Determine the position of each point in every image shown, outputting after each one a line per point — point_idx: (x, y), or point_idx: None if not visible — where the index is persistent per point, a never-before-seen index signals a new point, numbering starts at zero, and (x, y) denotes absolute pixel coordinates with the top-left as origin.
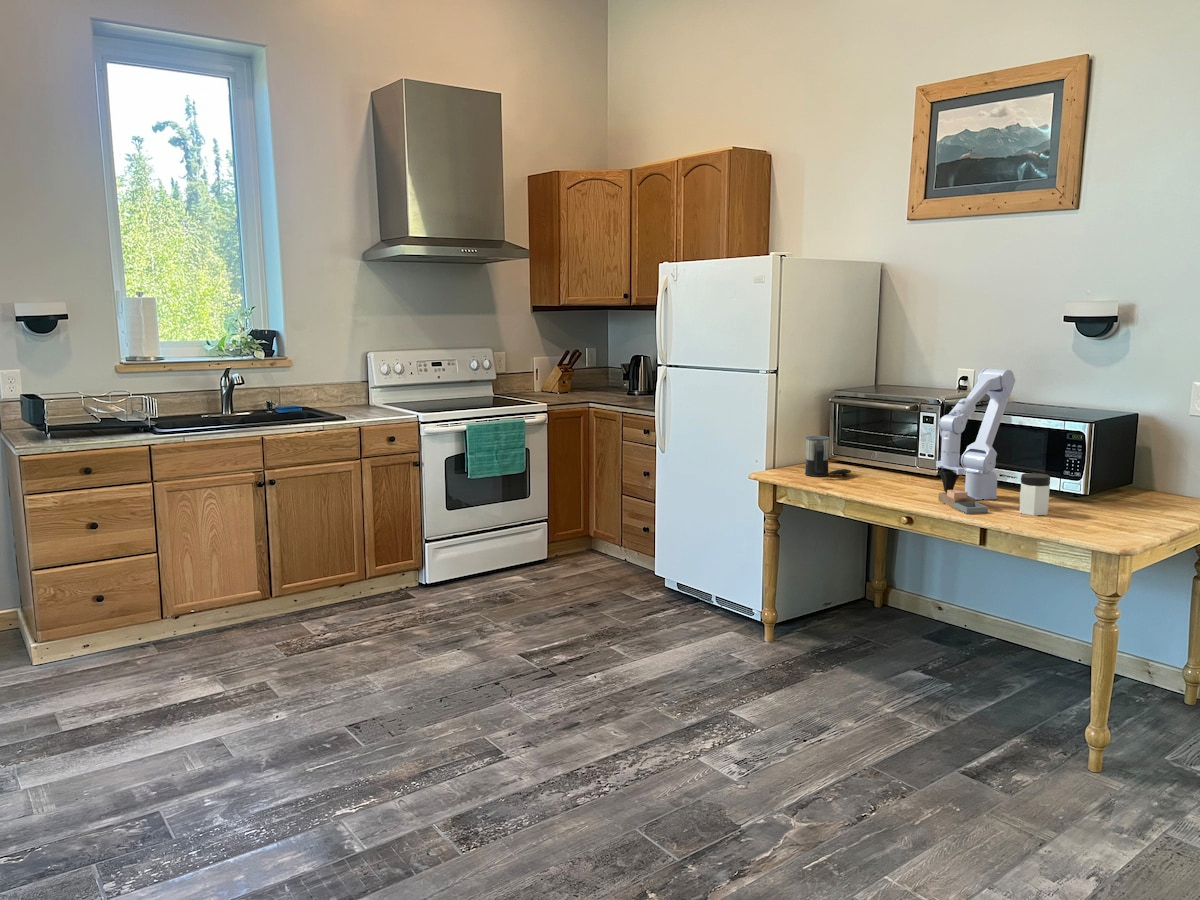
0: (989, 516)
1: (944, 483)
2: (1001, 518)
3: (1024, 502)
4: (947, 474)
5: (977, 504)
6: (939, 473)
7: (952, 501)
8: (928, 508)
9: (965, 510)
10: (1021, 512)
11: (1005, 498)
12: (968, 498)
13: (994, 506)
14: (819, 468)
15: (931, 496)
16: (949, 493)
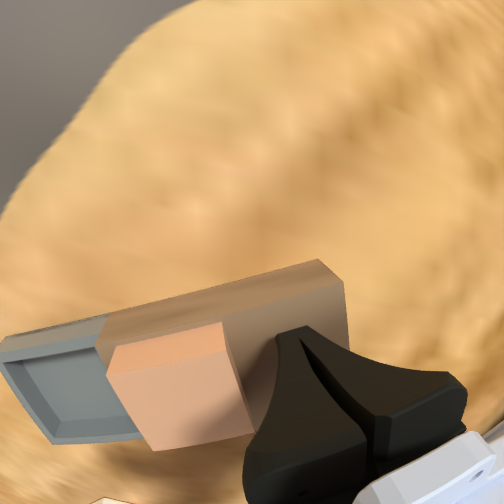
0: (11, 408)
1: (318, 362)
2: (3, 430)
3: None
4: (244, 473)
5: (114, 430)
6: (426, 376)
7: (126, 327)
8: (97, 144)
9: (6, 343)
10: (99, 501)
11: None
12: None
13: (206, 472)
14: None
15: (436, 247)
16: (185, 346)
